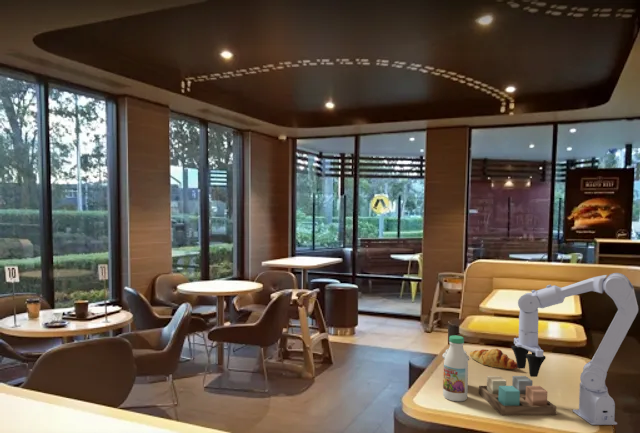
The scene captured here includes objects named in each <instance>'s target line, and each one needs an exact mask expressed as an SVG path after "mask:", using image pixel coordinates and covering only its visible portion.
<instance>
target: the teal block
mask: <svg viewBox="0 0 640 433" xmlns="http://www.w3.org/2000/svg"><path fill="white" fill-rule="evenodd" d="M498 401H499V402H500V403H501V404H502V405H504V406H519V403H520V391H519V390H517V389H516V388H515V387H513V386H512V385H506V386H499V396H498Z"/></svg>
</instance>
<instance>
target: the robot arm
mask: <svg viewBox="0 0 640 433" xmlns="http://www.w3.org/2000/svg"><path fill="white" fill-rule="evenodd" d="M588 292H594V293H595V292H596V293H598V294H603V293H604V292H605V294H606V295H607V296H609V297H610V299H612V300H613V302H614V304H615V306H616V308H617V310H616V313H615V315H614V317H613V319H612V321H611V323H610V324H609V326H608V328H607V330H606V332H605V334H604V336H603V338H602V340H601V342H600V344H599V345H598V348H597V350H596V351H595V353H594V355H593V357H592V359H591V360H590V361H589V362H586V363H585V364H584V366H583V368H582V372H581V373H580V382H579V393H578V394H579V395H578V396H579V397H578V409H572V412H573V413H574V414H576V415H577V416H579V417H580V418H582V420H584V421H586V423H589V424H590V425H592V426H603V425H604V426H606V425H607V426H612V425H613V426H615V425H618V422H617V421H615V418H616V417H615V415H616V414H615V413H616V412H615V411H616V403H615V401H614V399H613V397H611V396H610V394H609V391H608V387H607V385H606V378H607V377H608V376H607V375H608V373H607V372H608V370H609V368H610V366H611V364H612V362H613V360H614V359H615V356H616V354H617V352H618V350H619V349H620V347H621V345H622V343H623V341H624V339H625V338H626V336H627V334H628V331H629V329H630V328H631V326H632V324H633V322H634V320H635V319H636V317H637V314H638V313H639V305H638V302H637V297H636V293H635V288H634V285H633V284H632V283H631V280H629V278H628V277H627V276H626V275H625V274H623V273H620V272H614V273H610V274H609V275H608V274H603V275H598V276H593V277H589V278H587V279H584V280H581V281H578V282H575V283H572V284H569V285H565V286H563V287H560V286H557V285H555V284H554V285H552V284H548V285H546V286H545V288H540V289H538V290H536V289H532V290H531V292H527V293H524V294H522V295H521V296H519V299H518V300H517V305H518V308H519V315H518V337H514V338H513V344H514V345H511V346H510V347H511V349H512V351H513V353H514V357H515V362H517V366H518V368H517V369H525V368H526V365H527V363H528V373H529V376H530V377H531V378H532V377H533V378H534V377H538V376H539V373H540V369H541V366H542V364H543V363H544V362H545V360H546V355H544V350H543V349H541V347H540V345H539V309H545V308H549V307H552V306H555V305H559V304H563V303H564V300H565V299H566V298H567V297H568V298H569V297H571V296H576V295H580V294H584V293H588ZM529 352H530V353H529Z"/></svg>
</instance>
